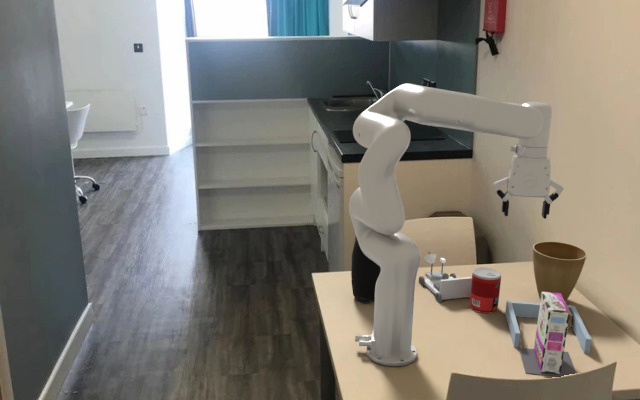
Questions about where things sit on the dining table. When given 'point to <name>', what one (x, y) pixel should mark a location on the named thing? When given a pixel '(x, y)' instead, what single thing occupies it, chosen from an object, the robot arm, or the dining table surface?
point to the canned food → (485, 290)
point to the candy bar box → (551, 332)
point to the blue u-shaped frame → (533, 311)
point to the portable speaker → (363, 275)
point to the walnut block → (570, 320)
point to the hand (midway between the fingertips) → (524, 215)
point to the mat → (533, 367)
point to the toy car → (445, 282)
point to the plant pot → (557, 267)
